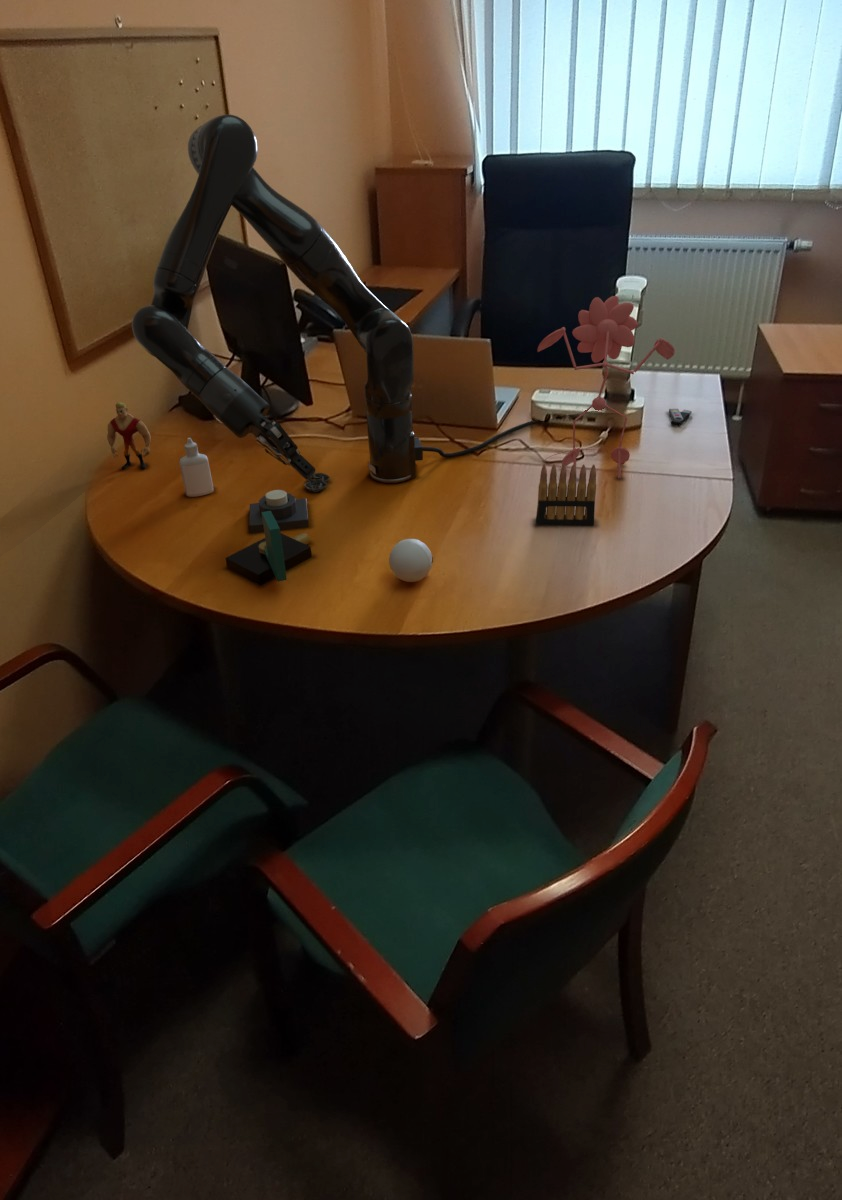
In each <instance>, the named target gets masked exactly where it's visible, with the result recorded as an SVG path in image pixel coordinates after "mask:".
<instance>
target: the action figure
mask: <svg viewBox="0 0 842 1200" xmlns="http://www.w3.org/2000/svg"><path fill="white" fill-rule="evenodd" d="M115 411H116V416H115V417H114V418H112V419H111V420H110V421H109V422H108V424H107V435H106V437H107V439H106V440H107V443H108V444H109V446H110V450H111V451H110V452H111V454H112V456H113V457H114V458H115V459H116V458H118V457H119V454H117V453H116V452H117V450H116V448H115V444H116V440H117V434H118V435H120V436H122V439H123V447H124V452H123V456H124V458H125V461H126V462H125V464H124V465H123V466H121V470H126V469H127V468H128V467H129V466H132V462H131V453H130V451H129V449H131V450H132V451H133V452H134V455H135V456H136V457H137V458H138V459H139V464H140V469H141V470H145V469H146V468H147V466H146V463H145V461H144V458H146V457H147V456H148V455H150V452H151V450H150V445H151V441H152V438H151V433H150V431H149V429H148V427H147V425H146V424H145V423H144V422H143V421H142V420H141V419H140V418H137V417H135V416H133V415H132V414H130V413H128V407H127V405H126V403H125V402H121V401H120V402H119V401H117V402H116V404H115ZM136 433H139V434H140V435H141V436H142V439H143V440H144V445H145V446H144V447H142V448H141V450H139V449H137V446H136V443H135V440H134V434H136ZM142 453H143V454H142Z"/></svg>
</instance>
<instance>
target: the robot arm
mask: <svg viewBox="0 0 842 1200" xmlns="http://www.w3.org/2000/svg"><path fill="white" fill-rule="evenodd" d="M187 151H188V152H187V153H188V157H189V161H190V164H191V165H192V167H193V169H194V171H195V172H196V173H197V175H198V176H197V179H196V182H195V185H194V187H193V190H192V192H191V195H190V197H189V199H188V201H187V203H186V205H185V207H184V209H183V211H182V212H181V214H180V216H179V217H178V219H177V221H176V223H175V224H174V226H173V228H172V230H171V232H170V233H169V235H168V238H167V240H166V242H165V244H164V247H163V250H162V252H161V256H160V258H159V261H158V263H157V266H156V269H155V272H154V276H153V280H152V281H153V282H152V286H153V297H152V300H151V302H150V305H145V306H142V307H140V308H139V309H137V311H136V312H135V314H134V315H133V317H132V319H131V320H132V321H131V329H132V334H133V336H134V338H135V340H136V341H137V343H138V344H139V345H140V346H141V347H142V348H143V349H144V350H145V351H146V352H147V353H148V354H149V355H150V356H152V357H154V358H155V359H157V360H158V361H159V362H160V363H162V364H163V365H164V366H165V367H166V368H167V369H169V370H170V371H171V372H172V373H173V374H174V376H175V377H176V378H177V380H179V382H180V383H181V384H182V385H183V386H184V387H185V388H186V389H187V390H189V392H190V393H192V394H193V395H194V396H195V397H196V398H197V399H198V400H199V402H201V403H202V405H204V406H205V408H206V409H207V410H208V411H209V412H210V413H211V414H212V415H213V416H214V417H215V418H216V419H217V420H218V421H220V422H221V423H222V424H223V425H224V426H225V427H226V428H227V429H228V430H229V431H230V432H231V433H233V435H235V436H236V437H237V438H239V439H243V438H245V437H246V436H248V435H249V434H253V436H254V437H255V438H256V440H255V442H256V443H257V444H258V445H259V446H260V447H261V448H263V449H264V451H265V453H266V454H268V455H270V456H271V457H272V458H274V459H276V460H277V461H278V462H280V463H281V464H283V465H284V466H289V467H290V466H291V467H292V469H294V470H295V471H296V472H297V473H298V474H299V475H300V476H301V477H302V478H304V480H306V479H309V478H310V477H311V476H312V475H313V474H314V473H316V468H315V466H314V465H312V464H311V463H310V462H309V461H308V460H307V459H306V458H305V457H304V456H303V455H302V454H301V452H300V450H299V447H298V445H297V444H296V443H295V442H294V441H293V440H292V438H291V437H290V435H288V433H287V432H286V431H285V430H284V428H283V427H282V426H281V424H280V423H279V422H276V421H275V420H272V421H271V420H270V419H268V418H267V417H266V416H267V414H268V412H269V410H270V404H269V403H268V402H267V401H266V400H265V399H264V398H263V397H262V396H261V395H260V394H259V393H257V392H256V391H255V390H254V389H253V387H251V386H250V385H249V384H248V383H247V382H246V381H245V380H243V378H241V377H240V376H239V375H238V374H237V373H235V372H233V371H232V370H231V369H230V368H228V367H227V366H226V365H225V364H224V363H223V362H222V361H221V360H220V359H219V358H218V357H216V356H215V354H213V352H211V351H209V350H208V349H207V348H206V347H205V346H204V345H202V344H201V343H200V342H199V340H197V339H196V338H195V336H193V334H192V333H191V332H190V331H189V330H188V329H189V325H190V321H191V316H192V310H193V306H194V305H193V304H194V302H195V301H194V300H195V298H196V295H197V293H198V290H199V288H200V286H201V284H202V280H203V278H204V275H205V271H206V268H207V265H208V263H209V261H210V258H211V255H212V252H213V249H214V247H215V244H216V241H217V239H218V237H219V234H220V232H221V229H222V227H223V225H224V222H225V220H226V217H227V216H228V213H229V211H230V209H231V207H232V208H234V209H235V210H236V212H238V213H239V214H240V216H242V217H243V218H244V219H245V220H246V222H247V223H248V224H249V225H250V226H251V227H252V229H254V231H255V232H256V233H257V234H258V235H259V236H260V238H261V240H263V241H264V242H265V244H266V245H268V247H270V249H272V251H273V252H274V253H275V254H276V255H277V257H278V258H279V259H280V261H282V262H283V264H284V265H285V266H286V267H287V268H288V270H290V272H291V273H293V275H294V276H295V277H296V278H297V279H298V280H299V281H300V283H302V284H303V285H304V286H305V287H306V288H307V289H308V290H310V291H311V292H312V293H313V294H314V295H315V296H316V297H317V298H319V299H320V300H321V301H322V302H324V303H325V304H327V305H328V306H329V307H330V308H331V309H332V310H333V311H334V312H336V314H337V315H338V316H339V318H340V319H341V321H342V322H343V323H344V324H345V325H346V327H347V328H348V330H349V331H350V332H351V334H352V335H353V336H354V338H355V339H356V341H357V342H358V345H360V348H361V349H362V350H363V351H364V353H365V355H366V370H367V371H366V373H367V380H366V381H365V382H364V398H365V411H366V413H365V414H366V427H367V440H368V441H367V442H368V456H369V461H368V460H367V468H368V469H369V475H370V478H371V479H373V481H376V482H379V483H384V484H398V483H402V482H406V481H408V480H410V479H415V478H417V467H416V462H418V461H423V460H424V452H433V453H438V454H439V455H440V457H442V458H454V457H459V456H463V455H468V454H470V453H473V452H476V451H478V450H481V449H483V448H485V447H487V446H489V445H491V443H493V442H495V441H497V440H500V439H501V438H503V437H505V436H507V435H509V434H511V433H515V432H517V431H519V430H522V429H524V428H527V427H530V426H533V425H536V424H539V423H543V422H544V421H540V420H537V421H534V422H533V420H534V419H533V420H529V421H526V422H524V423H521V424H518V425H516V426H514V427H511V428H509V429H507V430H504V431H502V432H500V433H498V434H496V435H494V436H492V437H491V438H488V439H487V440H485V441H484V442H482V443H480V444H478V445H475V446H472V447H469V448H465V449H463V450H460V451H454V452H444V451H443V450H442V449H441V448H438V447H434V446H423V444H422V442H421V439H420V437H418V436H417V437H415V433H414V430H413V405H412V404H413V403H412V386H413V383H414V373H415V372H414V370H415V369H414V367H415V366H414V363H415V362H414V361H415V359H414V357H415V356H414V339H413V334H412V331H411V330H410V327H409V326H408V325H407V324H406V322H404V321H403V319H401V318H400V317H399V316H398V315H397V314H396V313H395V312H393V311H392V310H390V309H389V308H388V307H387V306H386V305H385V304H383V303H382V301H380V300H379V299H378V298H377V297H376V296H375V294H373V293H372V292H371V291H370V290H369V288H368V287H366V285H365V284H364V283H363V282H362V280H361V279H360V277H359V276H358V274H357V273H356V271H355V269H354V268H353V266H352V264H351V262H350V261H349V260H348V258H347V257H346V255H345V254H344V252H343V251H342V248H340V246H339V245H338V243H336V241H335V239H333V238H332V237H331V235H330V234H329V233H328V232H327V230H326V229H325V228H324V227H323V226H322V225H321V224H320V223H319V221H318V220H317V219H315V218H314V217H313V215H311V214H310V213H308V212H307V211H306V210H304V209H303V208H302V207H300V206H299V205H297V204H296V203H294V202H292V201H291V200H289V199H288V198H286V197H285V196H283V195H282V194H280V193H279V192H278V191H277V190H275V189H274V188H273V187H272V186H270V185H269V183H267V181H265V179H264V178H263V177H262V176H261V174H259V172H258V171H257V170H256V169H255V167H254V166H255V163H256V161H257V156H258V141H257V137H256V135H255V133H254V131H253V128H252V127H251V125H249V123H247V121H246V120H244V119H243V118H242V117H239V116H238V115H234V114H221V115H217V116H215V117H213V118H211V119H209V120H208V121H206V122H204V123H203V124H201V125H199V126H198V127H196V129H195V130H193V131H192V133H191V135H190V136H189V139H188V141H187Z"/></svg>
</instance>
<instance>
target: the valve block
mask: <svg viewBox="0 0 842 1200" xmlns="http://www.w3.org/2000/svg"><path fill="white" fill-rule="evenodd" d="M280 534H281V542H282V549H283V556H284V563H285V570H286V572H287V571H289V570H291V569H292V568H293V569H294V567H296V566H298V565H300V564H302V563H304V562H306V561H307V560H309V559H311V558H312V557H313V555H312V547H311V546H310V545H308V544H310V541H311V540H310V539H311V538H310V536H309V534H308V533H307V532H301V533H299V534H297V535H295V536H293V537H290V536H288V535H286V534H285V533H282V532H280ZM265 541H266V540H265V537H263V538H261V539H259V540H258V541H256V542H253V543H252V544H250V545H248V546H246V547H244V548H242V549H240V550H238V551H236V552H234V553H232V554H230V555H229V556H226V557H225V563H226V569H228V570H230V571H232V572H234V573H235V574H237V575H239V576H241V577H243V578H245V579H247V580H248V581H251V582H253V583H254V584H256V585H258V586H262V585H264V584H266V583H267V582H269V581H271V580H273V579H276V577H275V575H274V573H273V571H272V568H271V566H270V564H269V562H268V560H267V557H266V555H265V554H262V553H260V552H259V544H260V543H262V542H265Z"/></svg>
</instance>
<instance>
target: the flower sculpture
mask: <svg viewBox="0 0 842 1200" xmlns="http://www.w3.org/2000/svg"><path fill="white" fill-rule="evenodd" d="M619 302H620V301H619V296H617V295H611V296H610V297H608V298H607V299H606V300H605V301H603V300H602V299H601V298H600V297H599V296H596V297H594V298H593V299H592V300H591V303H590V304H589V309H588V310H586V309H581V310H580V311H579V312H578V317H577V319H578V323H579V326H576V327H575V328H573V329H572V332H571V333H572V336H573V337H574V338H575V340H578V341H579V343H578V345H577V352H579V353H580V354H584V353H585V354H587V353H591V355H590V357H591V361H592V362H593V363H594V364H593V363H592V364H587V365H579V366H577V363H576V360H575V357H574V355H573V351H572V349H571V345H570V342H569V338H568V336H567V333H566V330H567V329H566V327H565V326H563V327H560V328H559V329H556V330H554V331H552V332H551V333H549V334H547V335H546V336H545V337H544V338H543V339H542V340H540V343H538V346H537V350H536V351H537V353H539V352H542V351H544V350H546V349H547V348H549V347H552V346H553V345H554V344H555V343H557V342H558V341H560V339H561V338H562V337H563V338H564V342H565V345H566V348H567V351H568V355H569V357H570V361H571V363H572V367H573V368H574V371H579V370H583V369H590V368H591V369H592V368H598V367H602V368H604V371H605V374H604V377H603V380H602V383H601V386H600V389H599V392H598V396H596V397H594V399H593V400H592V401H591V405H590V406H588V408H586V409H587V410H585V411H584V412H583V413H582V414H579V416H577V417H576V418H575V419H574V420H573V422H572V449H571V450H566V451H565V450H564V451H562V452H560V451H557V452H556V453H553V454H552V455H550V456H548V457H547V458H545V459H544V461H546V460H547V459H549V458H551V457H553V456H556V455H559V454H563V453H567V452H568V453H567V454H566V455H565V456H564V457H563V458H562V460H561V467H562V466H563V464H564V465H565V467H568V466H569V465H570V464H572V463H573V464H574V465H575V468H576V469H577V458H578V457H579V456H580V452H581V448H580V447H576V444H575V443H576V421H578V420H579V419H580V418H581V417H583V416H584V415H585V414H587V413H586V412H587V411H588V410H589V409H590V408H594V409H595V410H598V411H597V412H600V411H599V410H601V411H603V410H602V409H604V408H605V407H607V408H609V409H608V410H611V411H613V412H614V413H616V414H618V415H619V416H621V417H623V418H624V422H623V426H622V430H621V436H620V439H619V445H618V446H616V447H614V448H612V450H611V452H610V458H611V459H612V462H615V463H617V479H621V472H622V471H621V469H622V468H621V467H622V466H624V464H626V463H627V462H628V461H629V460H630V456H631V454H630V451H629V450H628V449H627V448H626V447H623V446H622V444H623V439H624V435H625V429H626V425H627V421H628V418H627V416H626V415H625V414H623V413H621V412H620V411H618V410H616V409H615V408H611V407H609V406H608V405H609V404H606V399H605V398H604V397H602V396H601V395H602V393H603V390H604V387H605V384H606V382H607V379H608V376H609V372H610V370H609V368H610V369H614V370H617V371H620V372H624V373H628V374H630V375H635V373H637V372H638V371H639V369H640V368H641V367H642V366H643V365H644V363H645V362H646V361H647V360H648V359H649V358H650V357H651V355H652V354H653V353H654V352H655V351H656V353H657V354H659V355H660V356H661V357H662V358H664V359H665V360H666V361H667V360H671V358H672V357H674V355H675V350H676V349H675V347H674V346H673V344H672V343H670V341H668V340H666V339H664V337H660V338H659V339H656V340H655V342H654V345H653V347H652V348H651V350H650V351H649V352H648V353H647V354H646V355H645V356H644V358H643V359H642V360H641V361H640V362H639V364H638V365H637V366H636V367H635V368H634V369H633V370H630V369H627V368H623V367H620V366H617V365H613V364H611V363H608V358H609V359H612V360H617V359H618V358H619V356H620V355H621V354H620V353H621V352H622V347H624V348H633V346H634V345H635V343H636V339H635V335H634V332H633V331H634V330H635V329H637V328H638V327H639V323H638V320H636V319H635V318H634V316H631V315H632V313H633V311H634V308H635V307H634V303H631V302H622V303H619ZM602 360H603V362H601V361H602ZM582 451H594V449H593V448H592V449H590V448H589V449H588V448H587V449H585V448H582ZM597 451H599V452H600V451H601V452H605V450H603V449H597ZM606 452H607V453H608V452H609V450H606Z"/></svg>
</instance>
